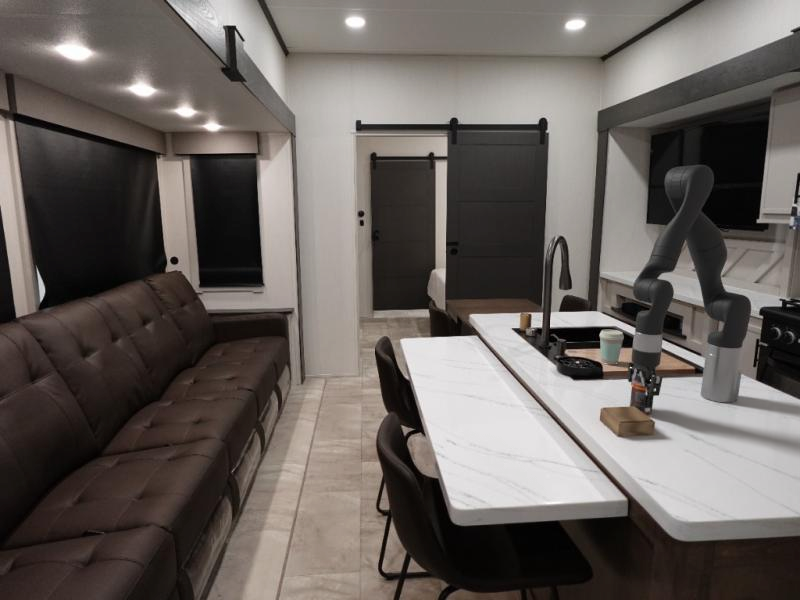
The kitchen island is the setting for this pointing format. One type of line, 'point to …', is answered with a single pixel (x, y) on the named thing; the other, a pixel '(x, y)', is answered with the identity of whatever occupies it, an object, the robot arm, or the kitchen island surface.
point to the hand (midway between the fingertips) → (641, 402)
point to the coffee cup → (610, 345)
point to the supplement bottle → (639, 395)
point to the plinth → (627, 421)
